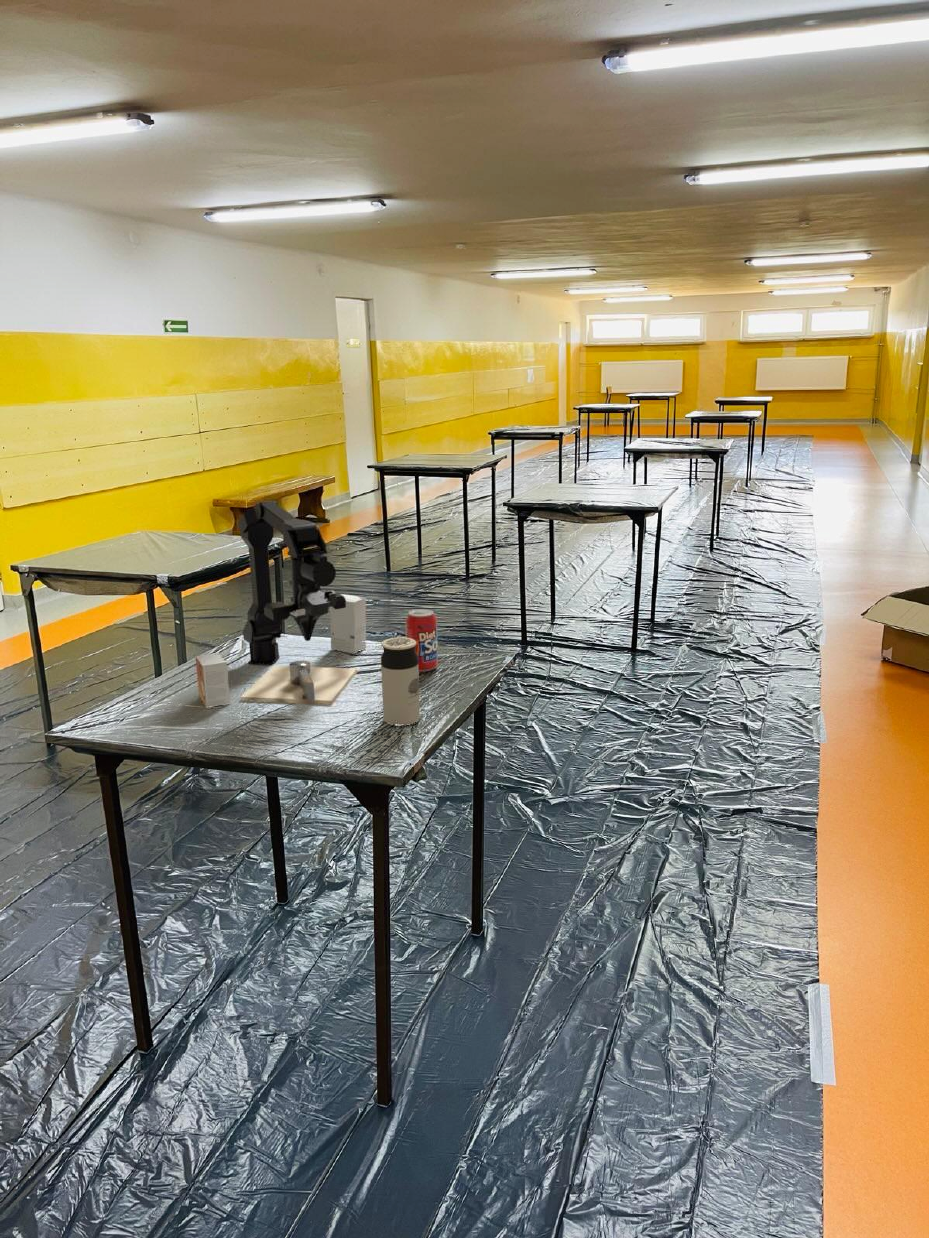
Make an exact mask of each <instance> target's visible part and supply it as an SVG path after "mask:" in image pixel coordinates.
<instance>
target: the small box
mask: <svg viewBox="0 0 929 1238" xmlns="http://www.w3.org/2000/svg"><path fill="white" fill-rule="evenodd" d="M195 665H196V677H197V686H198V687H197V688H198V696H199V697H200V698H201V699H200V698H199V699H200V700H201V702H202V701H203V702H202V703H203V705H204V704H205V705H204V707H205V706H206V707H209V706H215V705H223V704H227V703H230V704H231V701H230V700H231V698H230V697H231V696H230V689H229V687H230V686H229V675H228V664H227V661H225V659H224V658H223V657H222V656H221V654H220V652H215V653H209V654H208V653H207V654H203V655H196V656H195ZM206 707H205V708H206Z"/></svg>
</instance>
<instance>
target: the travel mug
mask: <svg viewBox="0 0 929 1238" xmlns="http://www.w3.org/2000/svg"><path fill="white" fill-rule="evenodd" d="M415 645H416V641H415V640H414V639H411V638H406V636H405V637H403V636H402V637H400V636H399V637H397V636H396V637H392V638H387V639H385V640H383V641H382V642H381V646H382V648H383V652H382V654H381V656H380V663H381V667H380V670H381V692H382V693H381V694H382V712H383V713H382V714H383V718H382V719H383V722H384V721H385V722H388V723H391V724H404V725H405V724H406V725H407V724H412V723H414V724H416V723H418V722H419V721H420V720H421V714H420V713H421V711H420V682H419V680H420V679H419V678H420V677H419V675H420V672H418V655H417V653H416V652H415ZM419 719H420V720H419ZM385 722H384V723H385ZM415 722H416V723H415ZM412 725H413V724H412Z"/></svg>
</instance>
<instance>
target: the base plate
mask: <svg viewBox="0 0 929 1238" xmlns="http://www.w3.org/2000/svg"><path fill="white" fill-rule="evenodd" d="M356 674H358V669H357V668H351V667H349V668H347V667H322V666H321V667H319V666H317V667H316V666H311V679H312V681H313V683H314V695H315V700H307V698H306V696H305V694H304V692H303V690H302V688H301V687H300V685H296V684H292V683H291V680H290V667H289V665H273V666H272V667H271V668H270V669H268V671H266V672H265V673H264V674H263V675H262V676H261V677H260V678H259V679H257V681H256V682H255V683H253V685H251V686H250V687H249V688H248V689H247V690H246V691H245V692H244V693H243V694H242V695H240V701H241V700H253V701H252V702H259V701H260V703H261V702H262V703H265V702H266V703H281V702H283V704H284V703H285V704H287V703H288V704H305V705H306V704H307V705H309V704H310V705H327V706H328V705H330V706H332V705H333V704H334V703H335V701H336V700H337V699H338V698H339V696H340V695H341V694H342V693H343V691H344V690H345V689H346V687H347V686H348V684H349V683H350V682H351V681H352V680H353V679H354V677H356Z"/></svg>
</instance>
